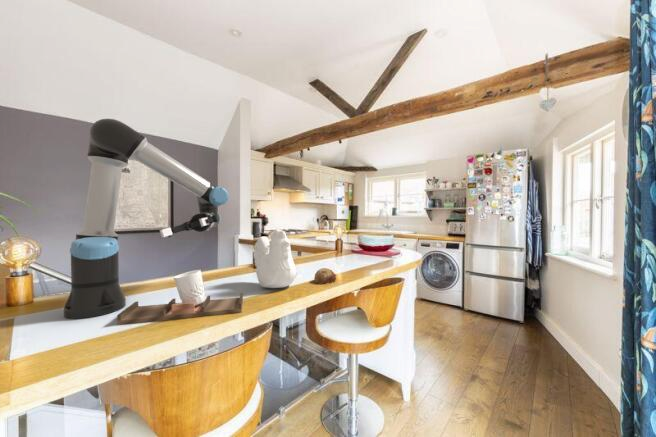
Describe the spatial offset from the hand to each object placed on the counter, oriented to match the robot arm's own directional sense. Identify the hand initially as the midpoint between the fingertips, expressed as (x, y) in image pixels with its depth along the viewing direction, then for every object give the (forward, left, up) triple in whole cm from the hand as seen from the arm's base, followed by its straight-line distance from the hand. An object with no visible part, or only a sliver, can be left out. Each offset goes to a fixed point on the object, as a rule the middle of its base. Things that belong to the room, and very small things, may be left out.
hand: (181, 228), depth 92 cm
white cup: (+6, -8, -24) cm, 26 cm away
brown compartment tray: (+4, -9, -26) cm, 28 cm away
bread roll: (+56, +16, -27) cm, 64 cm away
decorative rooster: (+33, +16, -27) cm, 45 cm away
